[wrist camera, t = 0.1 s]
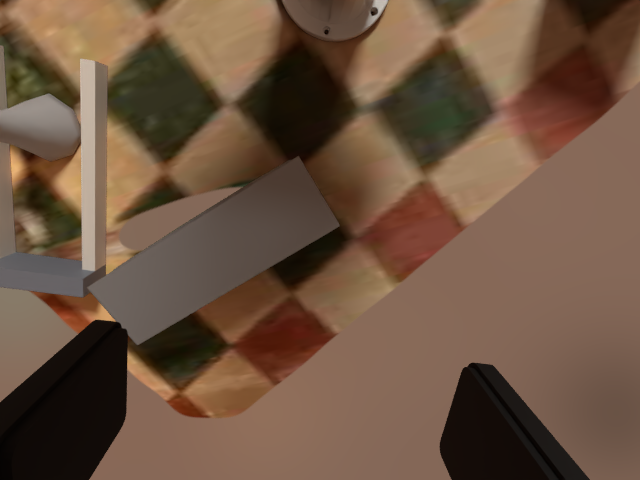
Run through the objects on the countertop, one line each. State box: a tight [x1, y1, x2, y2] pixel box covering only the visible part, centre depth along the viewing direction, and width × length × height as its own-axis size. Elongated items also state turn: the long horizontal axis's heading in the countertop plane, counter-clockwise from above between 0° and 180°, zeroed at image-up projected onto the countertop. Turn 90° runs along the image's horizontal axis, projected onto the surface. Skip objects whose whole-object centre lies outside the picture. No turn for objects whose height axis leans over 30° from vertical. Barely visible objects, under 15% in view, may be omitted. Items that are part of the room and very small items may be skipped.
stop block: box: [0, 252, 106, 297], centre depth 44 cm, size 2×12×5 cm, turn 80°
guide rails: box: [0, 46, 108, 271], centre depth 41 cm, size 24×12×2 cm, turn 170°
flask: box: [0, 94, 81, 161], centre depth 37 cm, size 7×7×10 cm
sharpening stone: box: [87, 156, 340, 345], centre depth 41 cm, size 25×8×11 cm, turn 121°
